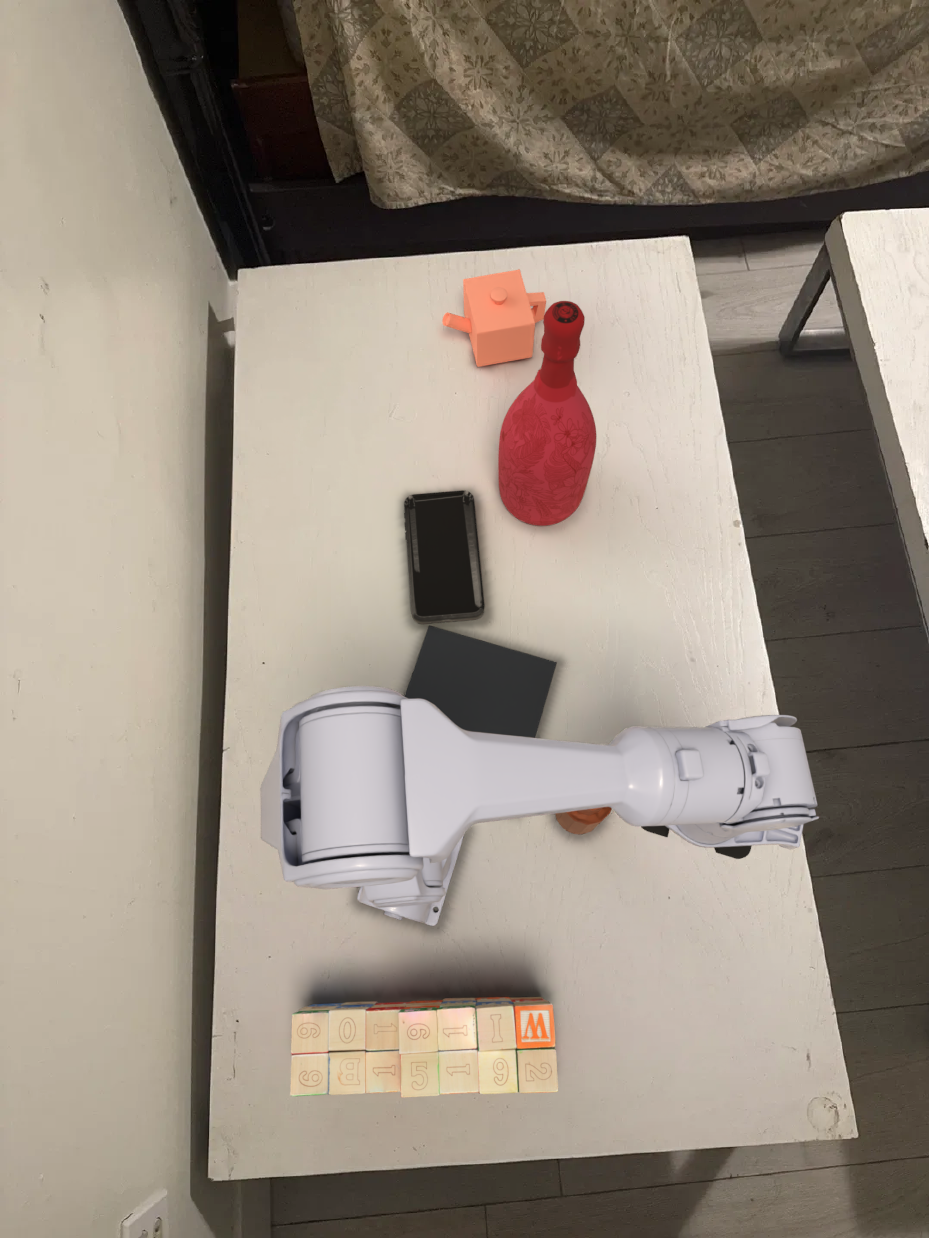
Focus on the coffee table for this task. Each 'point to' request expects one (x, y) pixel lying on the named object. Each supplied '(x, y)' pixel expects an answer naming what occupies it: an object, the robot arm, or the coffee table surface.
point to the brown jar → (582, 819)
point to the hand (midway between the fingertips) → (680, 821)
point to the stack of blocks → (425, 1047)
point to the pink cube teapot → (499, 317)
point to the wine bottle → (549, 430)
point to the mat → (481, 683)
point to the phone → (443, 557)
